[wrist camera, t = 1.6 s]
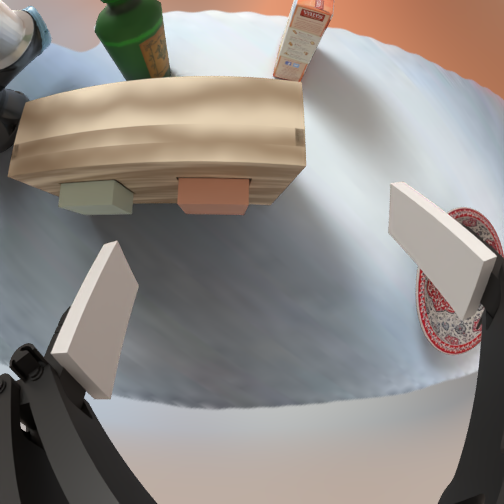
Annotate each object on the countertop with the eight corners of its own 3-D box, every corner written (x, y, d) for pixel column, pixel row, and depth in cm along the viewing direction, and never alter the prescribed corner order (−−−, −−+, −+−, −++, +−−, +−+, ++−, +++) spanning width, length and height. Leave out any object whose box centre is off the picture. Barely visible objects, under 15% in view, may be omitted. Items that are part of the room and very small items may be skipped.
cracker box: (301, 84, 50) (334, 15, 29) (271, 77, 50) (293, 3, 29) (309, 40, 51) (338, -25, 30) (283, 33, 50) (303, -35, 29)
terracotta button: (243, 215, 40) (248, 204, 33) (186, 214, 40) (177, 203, 32) (244, 193, 41) (249, 179, 33) (187, 193, 40) (178, 178, 32)
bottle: (184, 84, 48) (163, -27, 20) (133, 108, 47) (78, 9, 19) (166, 51, 48) (143, -51, 20) (119, 72, 47) (72, -21, 19)
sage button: (132, 214, 39) (112, 204, 31) (84, 215, 38) (58, 206, 30) (133, 193, 39) (114, 179, 31) (86, 195, 38) (60, 183, 30)
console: (270, 205, 49) (306, 165, 27) (82, 205, 46) (7, 176, 24) (270, 149, 49) (301, 82, 27) (88, 153, 46) (25, 102, 24)
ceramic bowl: (386, 214, 51) (409, 208, 43) (477, 210, 54) (500, 206, 46) (393, 360, 51) (414, 373, 43) (481, 328, 54) (503, 333, 46)
